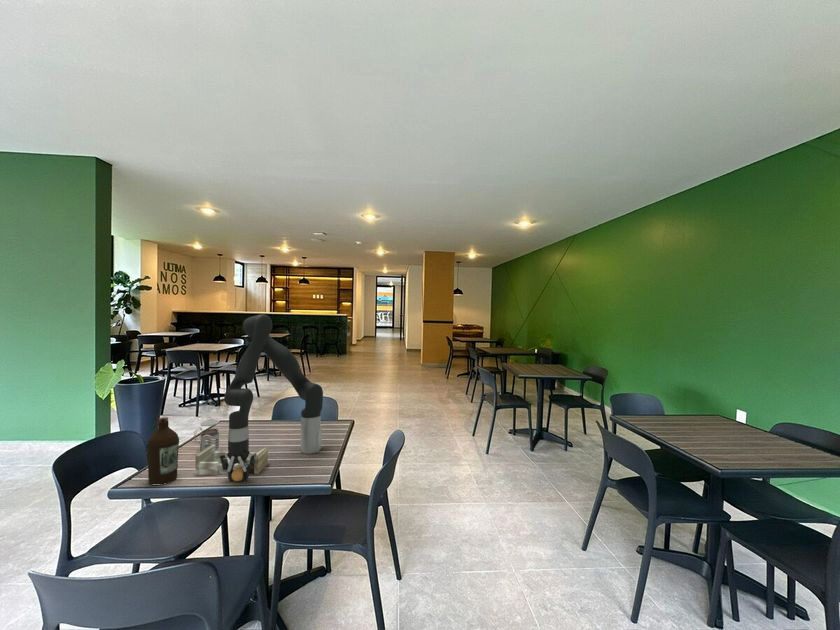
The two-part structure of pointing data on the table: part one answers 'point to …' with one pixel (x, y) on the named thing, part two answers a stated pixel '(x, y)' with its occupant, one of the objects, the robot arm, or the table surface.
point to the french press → (211, 432)
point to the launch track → (212, 465)
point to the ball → (237, 474)
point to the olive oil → (162, 454)
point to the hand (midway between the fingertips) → (238, 479)
